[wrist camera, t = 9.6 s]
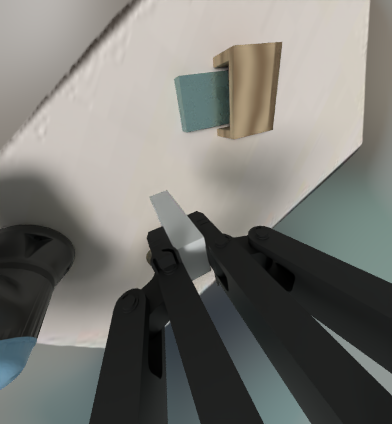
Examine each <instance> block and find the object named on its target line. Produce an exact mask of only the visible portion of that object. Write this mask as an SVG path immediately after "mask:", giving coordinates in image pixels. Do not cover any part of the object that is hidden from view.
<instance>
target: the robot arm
mask: <svg viewBox="0 0 392 424" xmlns="http://www.w3.org/2000/svg"><path fill="white" fill-rule="evenodd" d="M150 200H151V202H152V205H153V207H154V210H155V212H156V215H157V217H158V220H159V222H160V224H161V226H162V227H159V228H157V229H155V230H152V231H150V232H148V236H147V240H148V244H149V247H150V250H151V254H152V257H151V259H150V264H151V266H152V268H153V270H154V272H155V274H154V277H153V278H152V280H151V281H150V282H149V283H148V284H147V285H146V286H144V287H143V288H142V289H138V288H136V289H131V290H129V291H127V292H125V293H124V294H123V295H122V296H121V297H120V298H119V299H118V301H117V302H116V305H115V307H114V311H113V315H112V320H111V325H110V329H109V334H108V339H107V343H106V348H105V352H104V357H103V362H102V366H101V371H100V376H99V381H98V385H97V389H96V394H95V399H94V403H93V408H92V413H91V418H90V422H89V424H168V418H167V388H166V387H167V386H166V355H165V354H166V353H165V325H166V324H167V323H168V322H169V321H170V322H171V326H172V329H173V332H174V336H175V339H176V343H177V345H178V349H179V352H180V356H181V359H182V363H183V366H184V369H185V373H186V376H187V379H188V383H189V386H190V389H191V393H192V396H193V400H194V403H195V406H196V410H197V413H198V416H199V420H200V423H201V424H264V423H263V421H262V419H261V417H260V415H259V413H258V411H257V409H256V407H255V405H254V403H253V401H252V399H251V397H250V395H249V393H248V391H247V389H246V387H245V385H244V383H243V381H242V380H241V378H240V375H239V373H238V371H237V369H236V367H235V366H234V363H233V361H232V359H231V357H230V356H229V354H228V351H227V350H226V347H225V346H224V344H223V342H222V340H221V338H220V336H219V334H218V332H217V330H216V328H215V326H214V324H213V322H212V320H211V318H210V316H209V314H208V312H207V310H206V308H205V306H204V304H203V302H202V300H201V298H200V296H199V294H198V292H197V290H196V288H195V286H194V284H193V282H192V281H193V280H195V279H196V278H198V277H200V276H202V275H204V274H206V273H208V272H209V271H211V267H212V269H213V270H214V273H215V278H216V283H217V285H219V283H220V285H221V286H222V288H223V289H224V291H225V293H226V294H227V296H228V297H229V298H230V300H231V302H232V303H233V305H234V306H235V308H236V309H237V311H238V312H239V314H240V315H241V317H242V318H243V320H244V322H245V323H246V324H247V326H248V328H249V329H250V331H251V332H252V334H253V335H254V337H255V338H256V340H257V341H258V343H259V344H260V346H261V348H262V349H263V350H264V352H265V354H266V355H267V357H268V358H269V360H270V361H271V363H272V364H273V366H274V367H275V369H276V370H277V372H278V373H279V375H280V376H281V378H282V380H283V381H284V383H285V384H286V386H287V387H288V389H289V390H290V392H291V393H292V395H293V396H294V398H295V399H296V401H297V403H298V404H299V406H300V407H301V409H302V410H303V412H304V413H305V415H306V416H307V418H308V419H309V421H310V422H311V424H392V395H391V394H390V393H389V392H388V391H387V390H386V389H385V388H384V387H383V386H381V384H380V383H378V381H376V379H375V378H374V377H373V376H372V375H370V374H369V373H368V372H367V371H366V370H365V369H364V368H363V367H362V366H361V365H360V364H359V363H358V362H357V361H356V360H355V359H354V358H353V357H352V356H351V355H350V354H349V353H348V352H347V351H346V350H345V349H344V348H343V347H342V346H341V345H340V344H339V343H338V342H337V341H336V340H335V339H334V338H333V337H332V336H331V335H330V334H329V333H328V332H327V331H326V330H325V329H324V328H323V327H322V326H321V325H320V324H319V323H318V322H317V321H316V320H315V319H314V318H316V319H317V320H319V321H320V322H321V323H323V324H324V325H325V326H327V327H328V328H329V329H331V330H332V331H334V332H335V333H336V334H338V335H339V336H341V337H342V338H343V339H345V340H346V341H347V342H349V343H350V344H352V345H353V346H355V347H356V348H357V349H359V350H360V351H361V352H363V353H364V354H365V355H367V356H368V357H370V358H371V359H373V360H374V361H375V362H377V363H378V364H379V365H381V366H382V367H384V368H385V369H386V370H388V371H389V372H390V373H392V283H389V282H387V281H385V280H383V279H381V278H378V277H376V276H374V275H372V274H370V273H368V272H365V271H363V270H361V269H359V268H356V267H354V266H352V265H350V264H348V263H346V262H343V261H341V260H339V259H337V258H335V257H332V256H330V255H328V254H326V253H323V252H321V251H319V250H317V249H315V248H313V247H310V246H308V245H306V244H304V243H302V242H299V241H297V240H295V239H293V238H291V237H289V236H286V235H284V234H282V233H280V232H277V231H275V230H273V229H271V228H269V227H265V226H256V227H253V228H251V229H250V230H249V232H248V235H247V236H242V237H235V238H233V237H231V236H229V235H227V234H222V233H221V232H220V231H219V230H218V229H217V228H216V227H215V225H214V224H213V223H212V222H211V221H210V220H209V219H208V218H207V217H206V216H205V215H204V214H203V213H201V212H198V211H196V212H194V213H191V214H189V215H186V214H185V212H184V211H183V210H182V208H181V207H180V206H179V205H178V203H177V202H176V201H175V200H174V198H173V197H172V196H171V194H170V193H169V192H168V191H167V190H166V191H164V192H161V193H158V194H155V195H153V196H150ZM74 256H75V250H74V247H73V245H72V243H71V242H70V241H69V240H68V239H67V238H66V237H65V236H64V235H62V234H61V233H59V232H57V231H55V230H52V229H49V228H46V227H41V226H34V225H18V226H11V227H7V228H3V229H0V390H1V389H2V388H4V387H5V386H7V385H8V384H9V383H11V382H12V381H13V380H14V379H15V378H16V377H17V376H18V375H19V374H20V373H21V371H22V370H23V368H24V367H25V365H26V363H27V361H28V358H29V355H30V353H31V351H32V349H33V347H34V346H35V344H36V342H37V338H38V335H39V332H40V329H41V326H42V323H43V320H44V317H45V314H46V311H47V308H48V305H49V302H50V299H51V296H52V292H53V290H54V287H55V286H56V285H57V284H58V283H59V281H60V280H61V279H62V278H63V276H64V275H65V274H66V273H67V272H68V271H69V269H70V268H71V266H72V263H73V260H74ZM210 266H211V267H210ZM312 316H313V317H314V318H313V317H312Z"/></svg>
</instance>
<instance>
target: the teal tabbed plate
mask: <svg viewBox="0 0 392 424" xmlns="http://www.w3.org/2000/svg"><path fill="white" fill-rule="evenodd" d="M174 81H175V87H176V93H177V99H178V105H179V112H180V118H181V124H182V130H183V131H184V132H191V131H195V130H200V129H205V128H209V127H214V126H219V125H224V124H228V123H229V115H230V98H229V80H228V70H226V71H218V72H209V73H201V74H192V75H184V76H178V77H176V78H175V79H174Z"/></svg>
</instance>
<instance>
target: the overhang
mask: <svg viewBox="0 0 392 424" xmlns="http://www.w3.org/2000/svg"><path fill="white" fill-rule="evenodd" d="M281 49H282V42H275V43H262V44H248V45H235V46H232V47H230V48H229V49H227V50H225V51H224V52H222V53H220V54H219V55H217V56H215V57H214V58H213V66H214V68H217V67H227V66H229V98H230V126H228V127H224V128H219V129H217V133H218V136H221V137H226V138H231V139H237V138H241V137H245V136H249V135H253V134H258V133H262V132H266V131H270V130H273V122H274V113H275V104H276V95H277V86H278V77H279V68H280V58H281Z"/></svg>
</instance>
